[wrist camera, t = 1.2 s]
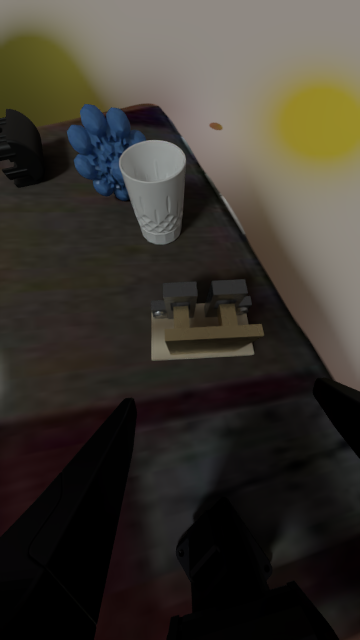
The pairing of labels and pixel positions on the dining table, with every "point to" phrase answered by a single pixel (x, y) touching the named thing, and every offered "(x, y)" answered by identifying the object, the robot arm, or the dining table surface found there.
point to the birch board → (199, 320)
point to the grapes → (103, 148)
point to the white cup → (155, 187)
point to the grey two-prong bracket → (217, 295)
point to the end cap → (21, 149)
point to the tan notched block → (210, 333)
